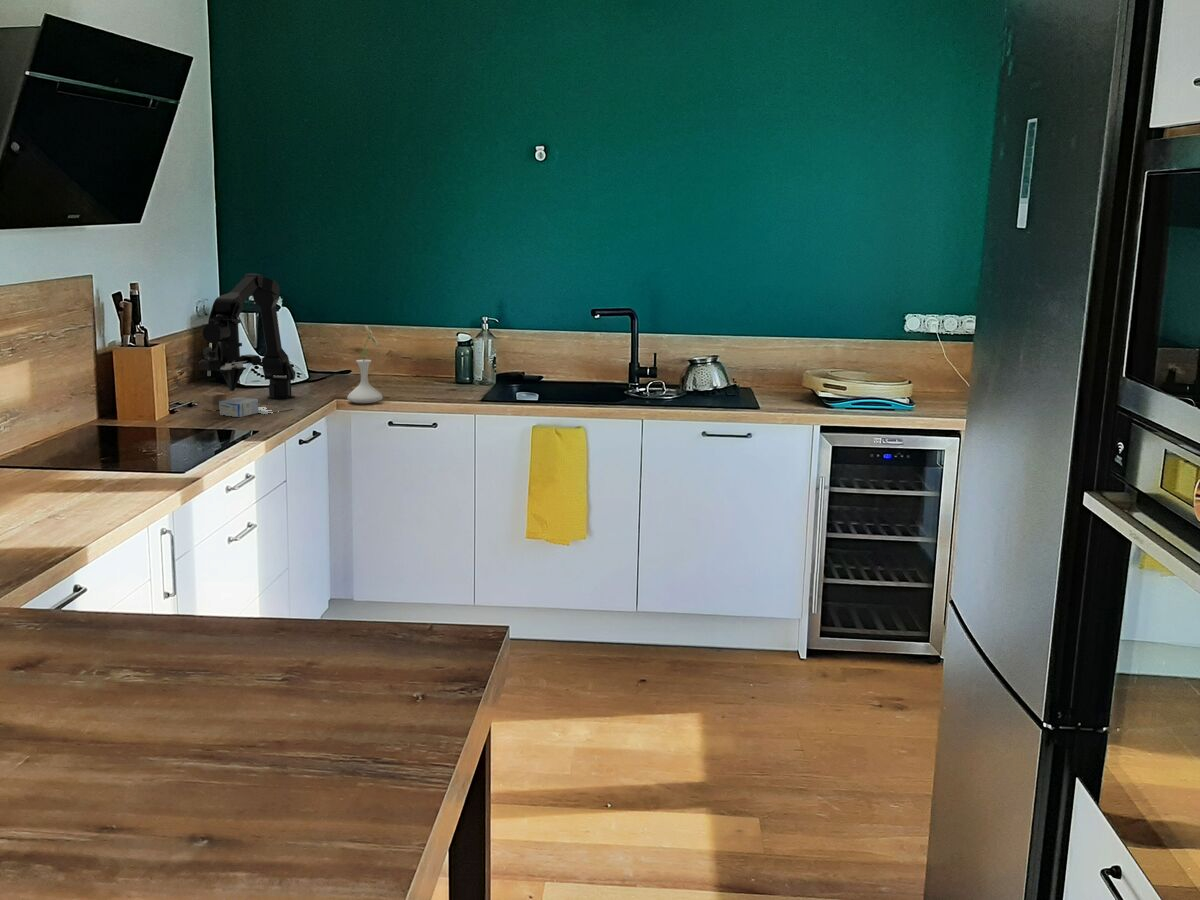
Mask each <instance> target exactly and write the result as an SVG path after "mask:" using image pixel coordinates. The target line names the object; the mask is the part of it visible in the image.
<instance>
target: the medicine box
mask: <svg viewBox="0 0 1200 900" xmlns="http://www.w3.org/2000/svg"><path fill="white" fill-rule="evenodd" d="M258 405H259V399H258V398H252V397H251V398H248V397H240V396H238V397H233V398H228V399H226V400H223V401H219V409H220V411H219V414H220V416H223V415H225V416H224V417H231V416H232V418H243V417H247V416H252V415H255V414H258V412H259V409H258Z"/></svg>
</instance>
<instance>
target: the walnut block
mask: <svg viewBox="0 0 1200 900" xmlns="http://www.w3.org/2000/svg"><path fill="white" fill-rule="evenodd" d="M223 400H227V393H222V392H219V391H218V392H216V391H215V392H209V393H202V406H203V408H202V409H207V410H212V411H211V412H213V411H214V410H220V409H219V401H223ZM207 410H206V411H207ZM214 412H215V411H214Z"/></svg>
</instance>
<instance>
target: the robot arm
mask: <svg viewBox="0 0 1200 900" xmlns="http://www.w3.org/2000/svg"><path fill="white" fill-rule="evenodd" d="M280 290H281V289H280V285H279V283H278V281H276V280H274V279H271V278H268V277H265V276H263V274H259V273H246V274H244V276H243V278H242V279H241V280H240V281H239V282H238V283H237V285H235V287H234V288H232V290H230V292H228V293H225V294H221V295H220V296H218V297H216V298H215V300H214V301H213V303H212V307H211V311H210V314H209V315H208V320H207V322H208V324H206V325H205V326H204V327H203V330H202V337H203V339H204V340H205V341H206V343H209V344H215V345H216V348H212V347H211V346H206V347H204V348H203V349H202V350H203V353H202V355H203V358H204V359H201V360H200V361H199V362H198V370H200V371H208V372H214V371H219V372H220V373H221V374H222V376H223V378H224V380H225V382H226V384H227V387H228V390H229V391H230V392H235V390H236V388H237V385H238V383H239V380H240V378H241V376H242V374H243V373H244V371H245V370H247V367H246V366H245V367H244V365H245V364H246V365H247V364H251V366H261V365H262V370H263V371H262V372H263V375H264V379H265V380H267V381H269V384H268V392H269V393H268V394H269V395H267V398H268V397H270V398H269V399H273V398H276V399H275V400H284V399H283V398H286V399H290V398H289V397H292V398H295V395H292V381H294V380H295V379H296V371H295V370H294V367H293V365H292V364H291V363H290V358H289V355H288V354H287V353H286V351H285V350H284V348H283V347H282V340H281V339H282V338H281V333H280V327H279V319H278V312H277V304H278V302H279V299H280V298H281V297H280V292H281V291H280ZM251 295H252V297H253V299H252V300H253V301H254V303H255V304H256V305H257V306H258V308H259V309H260V310H259V311H260V315H261V323H262V328H263V329H262V330H263V335H264V337H263V338H264V342H265V343H264V344H265V348H266V352H265V354H264V356H263V357H262V358H261V356H260V355H257V354H251V353H250V354H241V350H240V349H241V348H240V347H243V343H242V342H240V333H239V332H240V330H239V324H241V323H242V320H241V319H240V318H239V316H240V315H241V314H242V312H243V310H244V307H243V304H244V303H245V302H246V301H247V300H248V298H249V297H251Z"/></svg>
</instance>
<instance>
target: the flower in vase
mask: <svg viewBox="0 0 1200 900" xmlns="http://www.w3.org/2000/svg"><path fill="white" fill-rule="evenodd" d="M364 327H365V331H366V332H367V334H368V337H367V339H366V341H365V344H364V346H363V350H362V352H361V353H360V354H359V356H360V357H362V359H357V360H355V362H356V364H357V365H358V367H359V372H360V382H359V384H358V385H356V387H355V388H353V390H352V391H350V392H349V394H348V395H347V397H346V399H347V400H348V402H349V401H350V402H351V403H354V404H373V403H377V402H380V401H382V399H383V394H382V393H381V392H380V391H379V390H377V389H376V388H374V387H373V386H372V385H371V384H370V382H369V375H368V374H369V367H370V365H371V362H372V360H371V359H365V356H369V352H368V350H367V348H366V346H367V343H368V341H369V340H371V341H372V342H373V344H374V345H375V346H376V347H379V342H378V341H377V340H376V336H374V334H373V331H372V329H370V328H369V326H368V324H366V325H364Z"/></svg>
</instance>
